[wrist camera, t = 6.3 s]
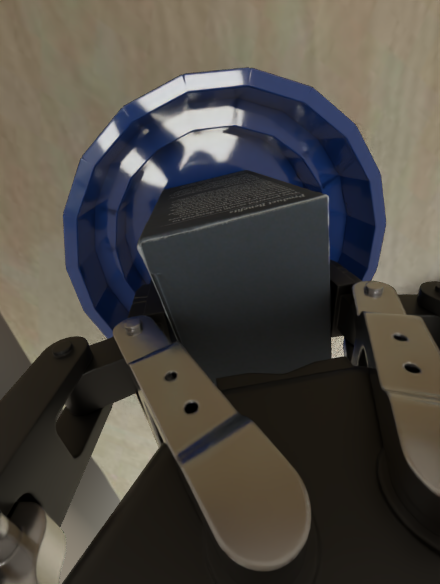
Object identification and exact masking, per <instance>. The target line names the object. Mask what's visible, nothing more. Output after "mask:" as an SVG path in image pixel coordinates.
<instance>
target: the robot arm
mask: <svg viewBox="0 0 440 584" xmlns="http://www.w3.org/2000/svg"><path fill="white" fill-rule="evenodd" d="M330 305H331V337H337V336H344V342H343V350H344V357H338V358H332V359H326V360H320V361H315V362H312V363H310V364H307V365H305V366H303V367H300V368H298V369H295V370H293V371H291V372H288V373H284V374H273V373H244V374H238V375H233V376H227V377H221V378H216V383H217V386H216V385H215V384H214V383H213V381H212V380H211V379H210V378H209V377H208V375H207V374H206V373H205V372H204V371H203V369H202V368H201V367H200V366H199V365H198V363H197V362H196V361H195V360H194V359H193V357H192V356H191V355H190V354H189V353H188V351H187V350H186V349H185V348H184V346H183V345H182V344H181V343H180V342H179V341H177V339H176V337H175V334H174V332H173V330H172V327H171V325H170V322H169V320H168V318H167V315H166V313H165V311H164V308H163V305H162V303H161V300H160V297H159V295H158V293H157V290H156V288H155V286H154V283H153V281H152V279H151V282H150V284H147V285H142V286H141V287H140V288H139V289H138V290H137V291H136V293H135V296H134V299H133V304H132V306H131V309H130V312H129V315H128V318H127V319H125V320H123V321H121V322H120V323H118V324H117V325H116V326H115V328H114V329H113V337H111V338H109V339H107V340H104V341H101V342H99V343H96V344H93V345H90V346H89V344H88V342H87V340H86V339H85V338H83V337H78V336H75V337H69V338H65V339H62V340H59V341H57V342H55V343H54V344H52V345H50V346H49V347H48V348H46V349H45V350H44V351H43V352H42V353H41V355H40V356H39V357H38V358H37V359H36V360H35V361H34V363H33V364H32V365H31V366H30V367H29V368H28V369H27V371H26V372H25V373H24V374H23V375H22V376H21V378H20V379H19V380H18V381H17V382H16V384H14V386H13V387H12V388H11V389H10V390H9V391H8V392H7V394H6V395H5V396H4V397H3V398H2V399H1V400H0V584H59V579H60V573H61V569H62V565H63V562H64V558H65V554H66V537H65V534H64V532H63V530H62V529H61V528H60V527H61V524H62V522H63V520H64V517H65V515H66V513H67V510H68V508H69V506H70V503H71V501H72V499H73V496H74V494H75V492H76V489H77V487H78V485H79V483H80V480H81V478H82V476H83V473H84V470H85V469H86V466H87V464H88V462H89V459H90V457H91V455H92V452H93V450H94V448H95V445H96V443H97V441H98V438H99V436H100V434H101V431H102V429H103V427H104V424H105V422H106V420H107V418H108V415H109V413H110V411H111V408H112V405H113V403H114V402H117V401H119V400H121V399H123V398H126V397H128V396H130V395H132V394H135V395H136V397H137V399H138V401H139V403H140V406H141V408H142V410H143V412H144V415H145V417H146V419H147V421H148V423H149V426H150V428H151V430H152V433H153V435H154V438H155V440H156V443H157V445H158V447H159V449H158V450H157V451H156V453H155V454H154V456H153V457H152V458H151V460H150V461H149V463H148V464H147V465H146V467H145V468H144V470H143V471H142V472H141V474H140V475H139V477H138V478H137V479H136V481H135V482H134V484H133V485H132V486H131V488H130V489H129V491H128V492H127V493H126V495H125V496H124V498H123V499H122V500H121V502H120V503H119V505H118V506H117V507H116V509H115V510H114V512H113V513H112V514H111V516H110V517H109V519H108V520H107V521H106V523H105V524H104V526H103V527H102V528H101V530H100V531H99V532H98V534H97V535H96V537H95V538H94V540H93V541H92V542H91V544H90V545H89V546H88V548H87V549H86V551H85V552H84V554H83V555H82V556H81V558H80V559H79V560H78V562H77V563H76V565H75V566H74V568H73V569H72V570H71V572H70V573H69V575H68V576H67V577H66V579H65V580H64V581H63V583H62V584H440V282H437V281H432V282H426V283H423V284H422V285H421V286H420V289H419V293H418V295H399V294H397V292H396V290H395V289H394V288H393V287H391V286H390V285H388V284H385V283H382V282H377V281H362V280H360V279H359V278H358V277H356V276H355V275H354V274H352V273H351V272H349V271H348V270H347V269H346V268H343V266H341V265H340V264H339V263H337V262H335V261H333V260H330ZM64 404H65V405H66V407H65V408H64V410H63V412H62V414H61V415H60V417H59V419H58V420H57V416H58V414H59V412H60V411H61V409H62V407H63V406H64ZM56 420H57V422H56Z"/></svg>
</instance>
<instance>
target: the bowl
mask: <svg viewBox="0 0 440 584" xmlns="http://www.w3.org/2000/svg"><path fill="white" fill-rule="evenodd" d="M243 170H249V171H252V172H256V173H259V174H262V175H265V176H268V177H271V178H274V179H277V180H281V181H284V182H287V183H290V184H293V185H296V186H299V187H302V188H306V189H308V190H311V191H315V192H320V193H323V194H326V195H328V196H329V255H330V260H333V261H335V262H337V263H339V264H340V265H341V266H343V268H346V269H347V270H348V271H349V272H351V273H352V274H354V275H355V276H356V277H358V278H359V279H360V280H362V281H371V280H372V278H373V276H374V274H375V272H376V270H377V267H378V262H379V257H380V253H381V248H382V243H383V238H384V233H385V228H386V215H385V206H384V198H383V189H382V180H381V174H380V171H379V169H378V167H377V165H376V163H375V161H374V159H373V157H372V155H371V153H370V151H369V149H368V147H367V145H366V144H365V142H364V140H363V138H362V136H361V134H360V132H359V130H358V128H357V126H356V124H355V123H353V122H352V121H351V120H350V119H349V118H348V117H346V116H345V115H344V114H343V113H342V112H341V111H340V110H338V109H337V108H336V107H335V106H334V105H333V104H331V103H330V102H329V101H328V100H327V99H326V98H325V97H323V96H322V95H321V94H320V93H319V92H318V91H316V90H315V89H314V88H313V87H310V86H309V85H305V84H302V83H299V82H296V81H293V80H290V79H286V78H283V77H280V76H277V75H274V74H271V73H267V72H264V71H261V70H258V69H255V68H249V67H245V68H235V69H225V70H216V71H206V72H196V73H186V74H183V75H179V76H178V77H176V78H174V79H172V80H170V81H168V82H167V83H165V84H163V85H161V86H159V87H157V88H155V89H154V90H152V91H150V92H148V93H146V94H144V95H143V96H141V97H139V98H137V99H135V100H133V101H132V102H130V103H128V104H126V105H124V106H123V108H121V109H120V110H119V111H118V113H117V114H116V115H115V116H114V117H113V119H112V120H111V121H110V122H109V124H108V125H107V126H106V127H105V128H104V130H103V131H102V132H101V133H100V135H99V136H98V137H97V138H96V139H95V141H94V142H93V143H92V144H91V146H90V147H89V148H88V149H87V150H86V152H85V153H84V154H83V155H82V158H81V159H80V162H79V165H78V168H77V171H76V174H75V177H74V180H73V184H72V187H71V190H70V193H69V196H68V199H67V202H66V205H65V208H64V212H63V226H64V246H65V265H66V270H67V272H68V275H69V277H70V279H71V282H72V284H73V287H74V289H75V291H76V294H77V296H78V299H79V301H80V303H81V306H82V308H83V311H84V312H85V313H86V314H87V316H88V317H89V318H90V319H91V320H92V321H93V323H94V324H95V325H96V326H97V327H98V328H99V330H100V331H101V332H102V333H103V334H104V335H105V336H106V338H107V339H109V338H111V337H113V329H114V328H115V326H116V325H117V324H118V323H120V322H121V321H123V320H125V319H127V318H128V315H129V312H130V309H131V306H132V304H133V299H134V296H135V293H136V291H137V290H138V289H139V288H140V287H141V286H142V285H147V284H150V282H151V277H150V274H149V272H148V270H147V268H146V266H145V263H144V261H143V259H142V257H141V256H140V254H139V252H138V250H137V243H138V240H139V238H140V236H141V234H142V232H143V230H144V228H145V225H146V223H147V222H148V220H149V218H150V216H151V214H152V212H153V210H154V207H155V205H156V203H157V202H158V199H159V197H160V195H161V193H162V191H163V190H164V189H169V188H173V187H178V186H182V185H186V184H190V183H194V182H198V181H203V180H207V179H211V178H215V177H220V176H223V175H227V174H231V173H236V172H239V171H243Z"/></svg>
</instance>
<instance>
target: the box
mask: <svg viewBox="0 0 440 584" xmlns="http://www.w3.org/2000/svg"><path fill="white" fill-rule="evenodd" d="M137 250H138V252H139V254H140V256H141V257H142V259H143V261H144V263H145V266H146V268H147V270H148V272H149V274H150V277H151V279H152V281H153V283H154V286H155V288H156V290H157V293H158V295H159V297H160V300H161V303H162V305H163V308H164V311H165V313H166V315H167V318H168V320H169V322H170V325H171V327H172V330H173V332H174V334H175V337H176V339H177V341H179V342H180V343H181V344H182V345H183V346H184V348H185V349H186V350H187V351H188V353H189V354H190V355H191V356H192V357H193V359H194V360H195V361H196V362H197V363H198V365H199V366H200V367H201V368H202V369H203V371H204V372H205V373H206V374H207V375H208V377H209V378H210V379H211V380H212V381H213V383H214V384H215V385H216V386H217V383H216V378H221V377H227V376H233V375H238V374H244V373H273V374H284V373H288V372H291V371H293V370H295V369H298V368H300V367H303V366H305V365H307V364H310V363H312V362H315V361H320V360H326V359H331V305H330V255H329V196H328V195H326V194H323V193H320V192H315V191H311V190H308V189H306V188H302V187H299V186H296V185H293V184H290V183H287V182H284V181H281V180H277V179H274V178H271V177H268V176H265V175H262V174H259V173H256V172H252V171H249V170H243V171H239V172H236V173H231V174H227V175H223V176H220V177H215V178H211V179H207V180H203V181H198V182H194V183H190V184H186V185H182V186H178V187H173V188H169V189H164V190H163V191H162V193H161V195H160V197H159V199H158V202H157V203H156V205H155V207H154V210H153V212H152V214H151V216H150V218H149V220H148V222H147V223H146V225H145V228H144V230H143V232H142V234H141V236H140V238H139V240H138V243H137Z"/></svg>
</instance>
